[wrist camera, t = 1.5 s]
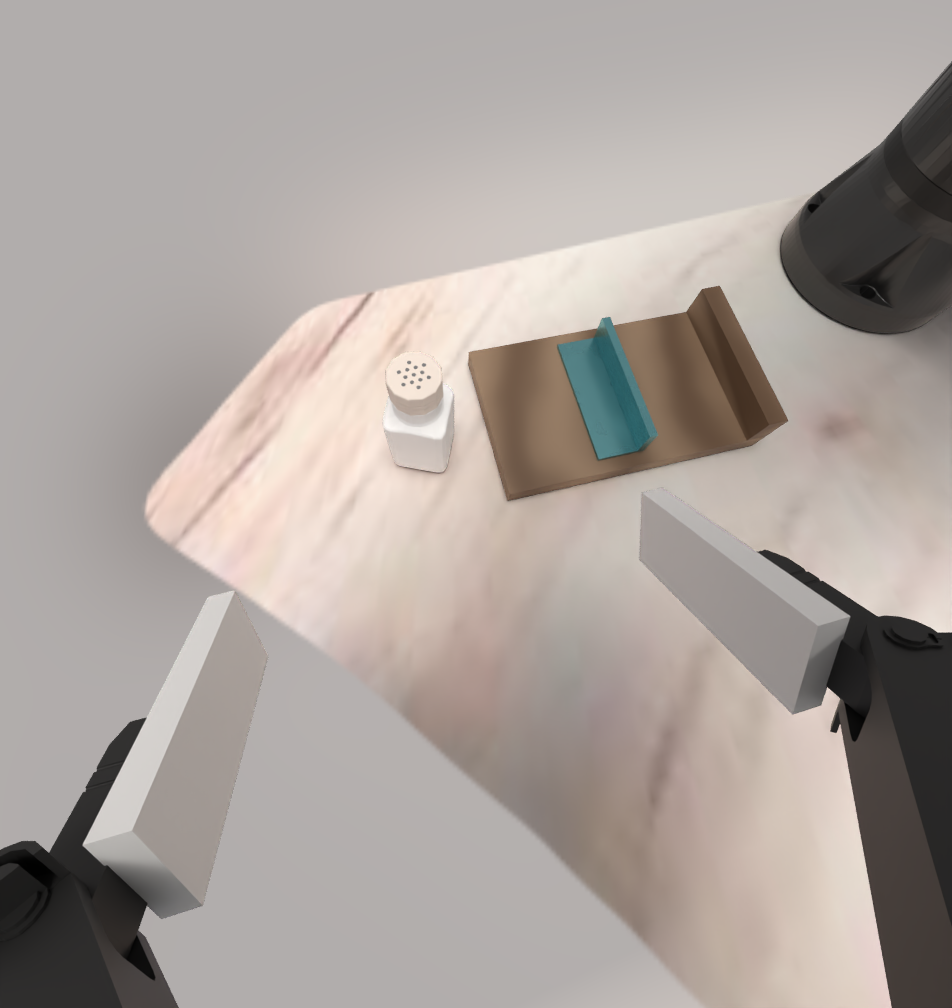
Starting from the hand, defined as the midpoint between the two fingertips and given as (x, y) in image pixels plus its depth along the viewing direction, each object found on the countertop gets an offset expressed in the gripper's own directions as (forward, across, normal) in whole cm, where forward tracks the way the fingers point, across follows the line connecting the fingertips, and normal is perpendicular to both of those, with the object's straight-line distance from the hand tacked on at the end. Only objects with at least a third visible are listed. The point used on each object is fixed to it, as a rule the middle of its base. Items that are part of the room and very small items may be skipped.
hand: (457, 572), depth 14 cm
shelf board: (+20, +16, -2) cm, 26 cm away
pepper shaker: (+20, +1, -3) cm, 21 cm away
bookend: (+19, +14, -1) cm, 24 cm away
